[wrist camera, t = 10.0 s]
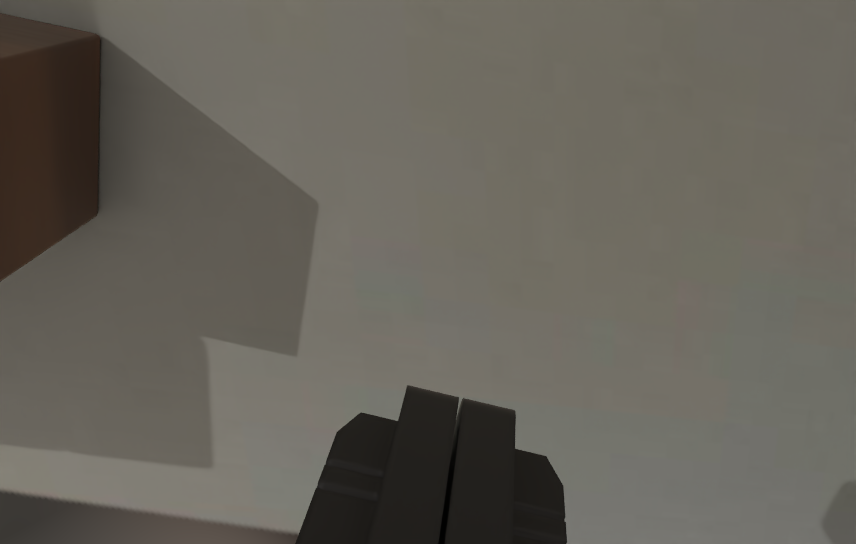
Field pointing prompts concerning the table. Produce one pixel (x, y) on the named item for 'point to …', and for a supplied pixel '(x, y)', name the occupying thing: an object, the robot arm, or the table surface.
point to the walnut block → (46, 136)
